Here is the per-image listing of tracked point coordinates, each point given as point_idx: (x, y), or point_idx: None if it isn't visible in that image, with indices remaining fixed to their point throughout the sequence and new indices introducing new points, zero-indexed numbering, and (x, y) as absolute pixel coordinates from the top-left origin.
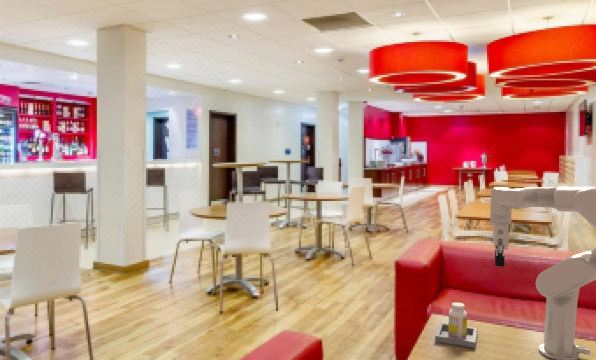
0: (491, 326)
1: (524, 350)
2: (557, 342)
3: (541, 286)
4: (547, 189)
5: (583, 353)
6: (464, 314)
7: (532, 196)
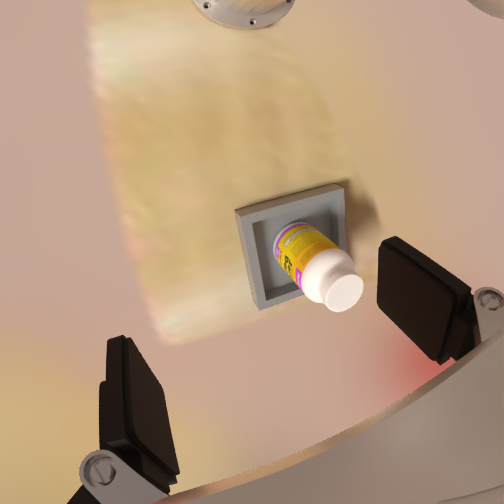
0: (136, 198)
1: (274, 65)
2: None
3: None
4: None
5: None
6: (344, 255)
7: None
